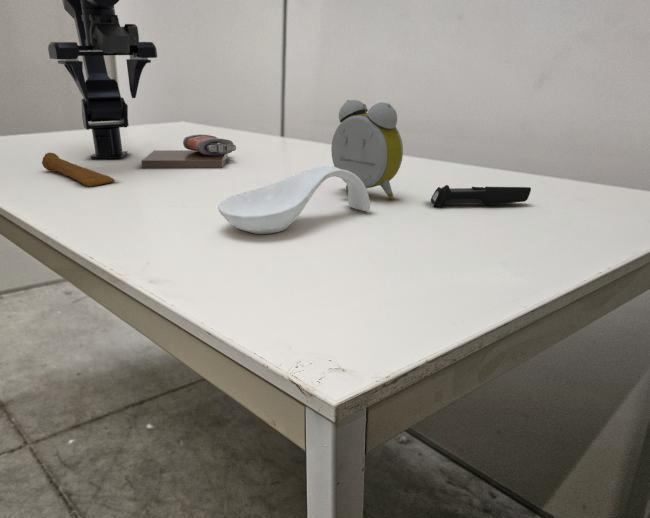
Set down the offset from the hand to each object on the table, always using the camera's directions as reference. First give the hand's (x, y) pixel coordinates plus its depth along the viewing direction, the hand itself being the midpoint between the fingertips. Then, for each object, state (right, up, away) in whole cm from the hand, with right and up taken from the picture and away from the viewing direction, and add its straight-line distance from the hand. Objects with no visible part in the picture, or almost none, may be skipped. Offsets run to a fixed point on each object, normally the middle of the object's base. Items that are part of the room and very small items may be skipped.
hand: (110, 99), depth 119 cm
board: (+12, -9, +11) cm, 19 cm away
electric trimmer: (+66, -25, -21) cm, 73 cm away
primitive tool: (-5, -16, -3) cm, 17 cm away
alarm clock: (+48, -22, -16) cm, 55 cm away
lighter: (+14, -4, +15) cm, 21 cm away
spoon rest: (+38, -29, -30) cm, 56 cm away
